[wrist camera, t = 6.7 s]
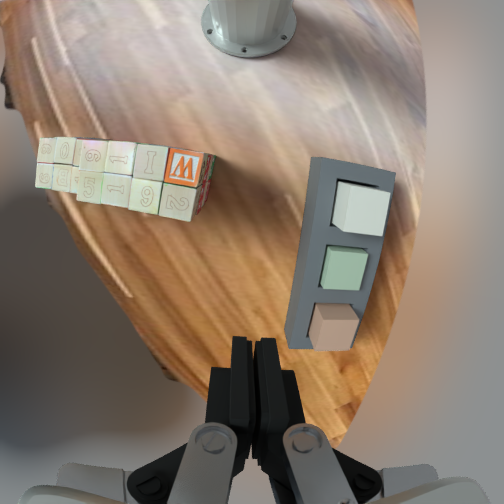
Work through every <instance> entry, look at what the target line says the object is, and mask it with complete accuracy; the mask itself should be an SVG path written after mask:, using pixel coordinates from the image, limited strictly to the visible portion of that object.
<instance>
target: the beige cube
mask: <svg viewBox="0 0 504 504" xmlns="http://www.w3.org/2000/svg"><path fill="white" fill-rule="evenodd" d="M358 323H359V318H358V317H357V315H356V314H355V312H354V311H353V309H352V308H351V306H350V305H349V304H346V303H315V302H314V306H313V310H312V315H311V319H310V323H309V327H308V334H309V337H310V340H311V342H312V345H313V348H314V351H342V350H349V349H350V346H351V343H352V340H353V338H354V335H355V332H356V329H357V326H358Z"/></svg>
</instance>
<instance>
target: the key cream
mask: <svg viewBox="0 0 504 504" xmlns="http://www.w3.org/2000/svg"><path fill="white" fill-rule="evenodd" d="M389 199H390V193H389V192H386V191H382V190H379V189H376V188H372V187H367V186H362V185H357V184H351V183H346V182H340V181H336V188H335V195H334V202H333V208H332V214H331V220H330V222H332V223H333V224H334V225H336V226H337V227H338V228H339V229H341V230H342V231H343V232H352V233H360V234H368V235H376V236H382V235H383V230H384V226H385V221H386V215H387V210H388V205H389Z"/></svg>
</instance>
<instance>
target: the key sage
mask: <svg viewBox="0 0 504 504" xmlns="http://www.w3.org/2000/svg"><path fill="white" fill-rule="evenodd" d="M367 257H368V253H366V252H365V251H364V250H363V249H362V248H360V247H350V246H340V245H330V244H326V249H325V254H324V259H323V264H322V269H321V274H320V279H319V282H320V284H321V285H322V287H323V289H338V290H359V288H360V285H361V281H362V277H363V273H364V269H365V265H366V261H367Z"/></svg>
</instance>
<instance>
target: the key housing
mask: <svg viewBox="0 0 504 504" xmlns="http://www.w3.org/2000/svg"><path fill="white" fill-rule="evenodd" d="M395 175H396V173H395V172H391V171H387V170H382V169H378V168H374V167H369V166H365V165H360V164H355V163H350V162H345V161H340V160H335V159H329V158H323V157H311V163H310V171H309V179H308V187H307V194H306V202H305V209H304V216H303V223H302V230H301V236H300V243H299V249H298V255H297V261H296V267H295V273H294V279H293V285H292V290H291V296H290V301H289V307H288V312H287V317H286V323H285V328H284V330H285V335H286V339H287V343H288V348H289V349H314V348H313V345H312V342H311V340H310V337H309V334H308V327H309V323H310V319H311V315H312V310H313V306H314V302H315V303H346V304H349V305H350V306H351V308H352V309H353V311H354V312H355V314H356V315H357V317H358V318H359V323H358V326H357V329H356V332H355V335H354V338H353V340H352V343H351V346H350V348H352V346H353V343H354V341H355V338H356V335H357V332H358V329H359V326H360V323H361V320H362V317H363V314H364V311H365V308H366V305H367V302H368V298H369V295H370V292H371V288H372V285H373V281H374V277H375V274H376V270H377V266H378V262H379V258H380V254H381V250H382V246H383V241H384V237H385V232H386V227H387V222H388V217H389V212H390V207H391V201H392V195H393V189H394V182H395ZM336 181H340V182H346V183H351V184H357V185H362V186H367V187H372V188H376V189H379V190H382V191H386V192H389V193H390V199H389V205H388V210H387V215H386V221H385V226H384V230H383V235H382V236H376V235H368V234H360V233H352V232H343V231H342V230H341V229H339V228H338V227H337V226H336V225H334V224H333V223H332V222H330V220H331V214H332V208H333V202H334V195H335V188H336ZM326 244H330V245H340V246H350V247H360V248H362V249H363V250H364V251H365V252H366V253H368V257H367V261H366V265H365V269H364V273H363V277H362V281H361V285H360V288H359V290H338V289H323V287H322V285H321V284H320V282H319V279H320V274H321V269H322V264H323V259H324V254H325V249H326Z"/></svg>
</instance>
